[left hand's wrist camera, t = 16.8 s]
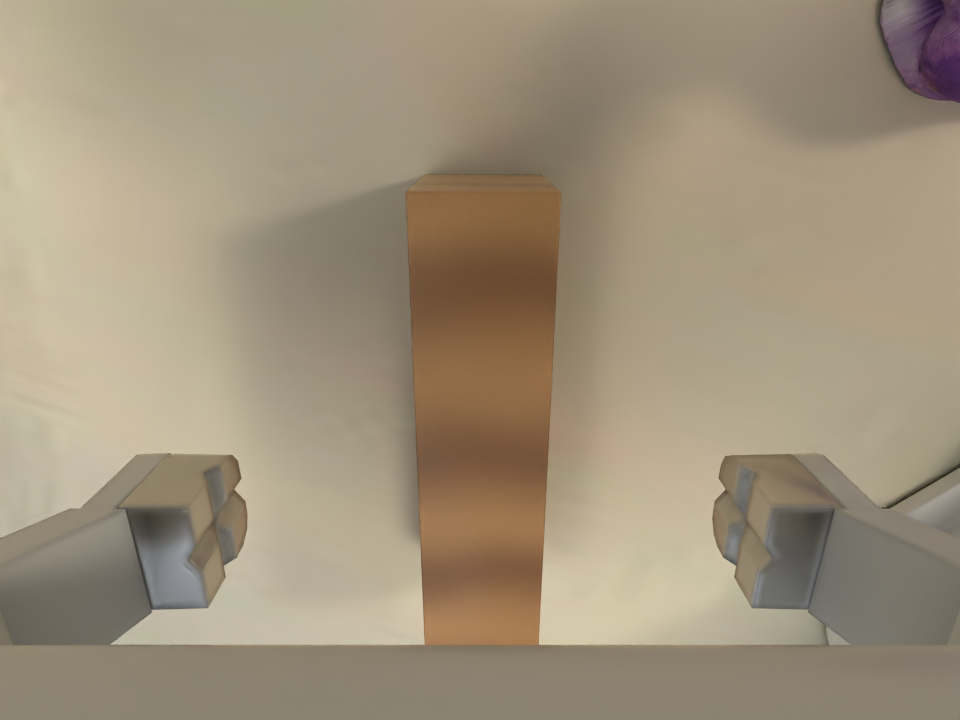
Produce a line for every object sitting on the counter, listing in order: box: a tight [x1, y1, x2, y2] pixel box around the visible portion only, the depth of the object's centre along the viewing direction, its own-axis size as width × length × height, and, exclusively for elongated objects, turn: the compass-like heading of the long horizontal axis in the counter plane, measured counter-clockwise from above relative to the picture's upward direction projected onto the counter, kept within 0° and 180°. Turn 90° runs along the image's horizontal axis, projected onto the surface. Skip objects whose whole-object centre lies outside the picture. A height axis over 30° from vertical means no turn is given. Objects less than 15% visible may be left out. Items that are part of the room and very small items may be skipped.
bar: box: [406, 175, 561, 645], centre depth 31 cm, size 23×6×8 cm, turn 0°
